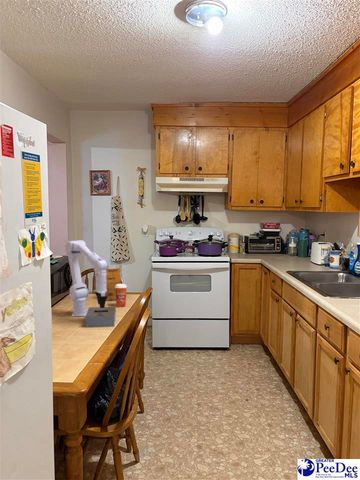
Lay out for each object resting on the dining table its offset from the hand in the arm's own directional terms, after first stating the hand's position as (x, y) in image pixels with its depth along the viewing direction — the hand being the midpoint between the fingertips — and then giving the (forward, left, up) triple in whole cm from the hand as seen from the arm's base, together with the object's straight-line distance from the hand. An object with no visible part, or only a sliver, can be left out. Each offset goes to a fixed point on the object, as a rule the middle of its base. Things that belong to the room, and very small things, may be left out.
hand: (101, 306), depth 195 cm
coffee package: (-49, +3, -9) cm, 50 cm away
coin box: (0, 0, -9) cm, 9 cm away
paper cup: (-31, +10, -9) cm, 34 cm away
